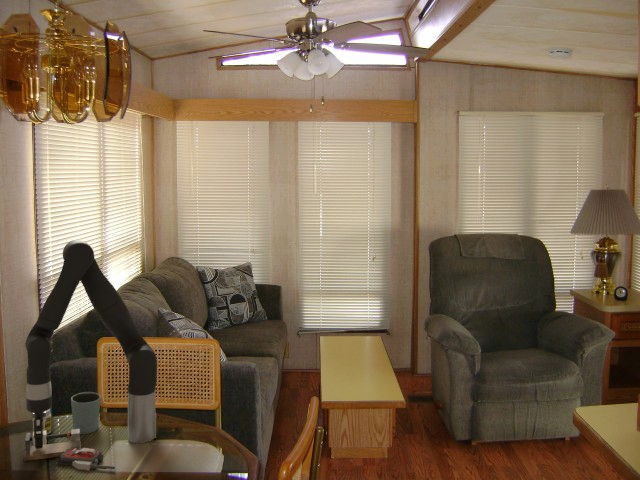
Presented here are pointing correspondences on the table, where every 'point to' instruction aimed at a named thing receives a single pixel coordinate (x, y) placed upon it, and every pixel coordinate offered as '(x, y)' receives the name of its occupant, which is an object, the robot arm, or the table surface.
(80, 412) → the blue-grey cylindrical pot
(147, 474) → the table surface
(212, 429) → the table surface
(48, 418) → the supplement bottle
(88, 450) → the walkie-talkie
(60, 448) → the linear slider rail
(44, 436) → the sleeve
